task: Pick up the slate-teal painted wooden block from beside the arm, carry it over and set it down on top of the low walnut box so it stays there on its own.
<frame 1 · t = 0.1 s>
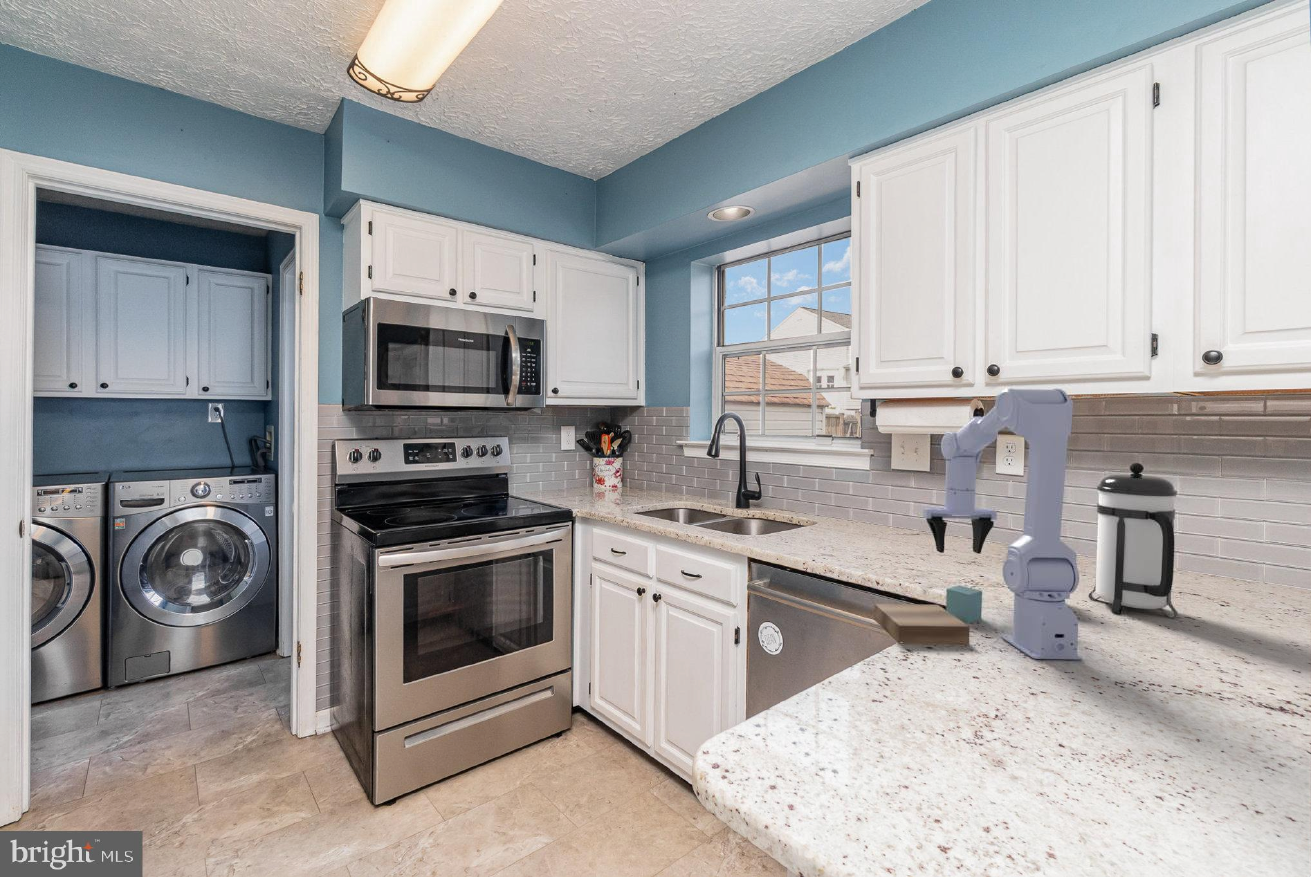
hand: (958, 552, 129), 10 cm above the countertop, fingers open, 7 cm apart
coffee press: (1136, 611, 122), on the countertop
walnut box: (918, 633, 109), on the countertop
medicine bottle: (1037, 602, 127), on the countertop
teal block: (963, 617, 117), on the countertop
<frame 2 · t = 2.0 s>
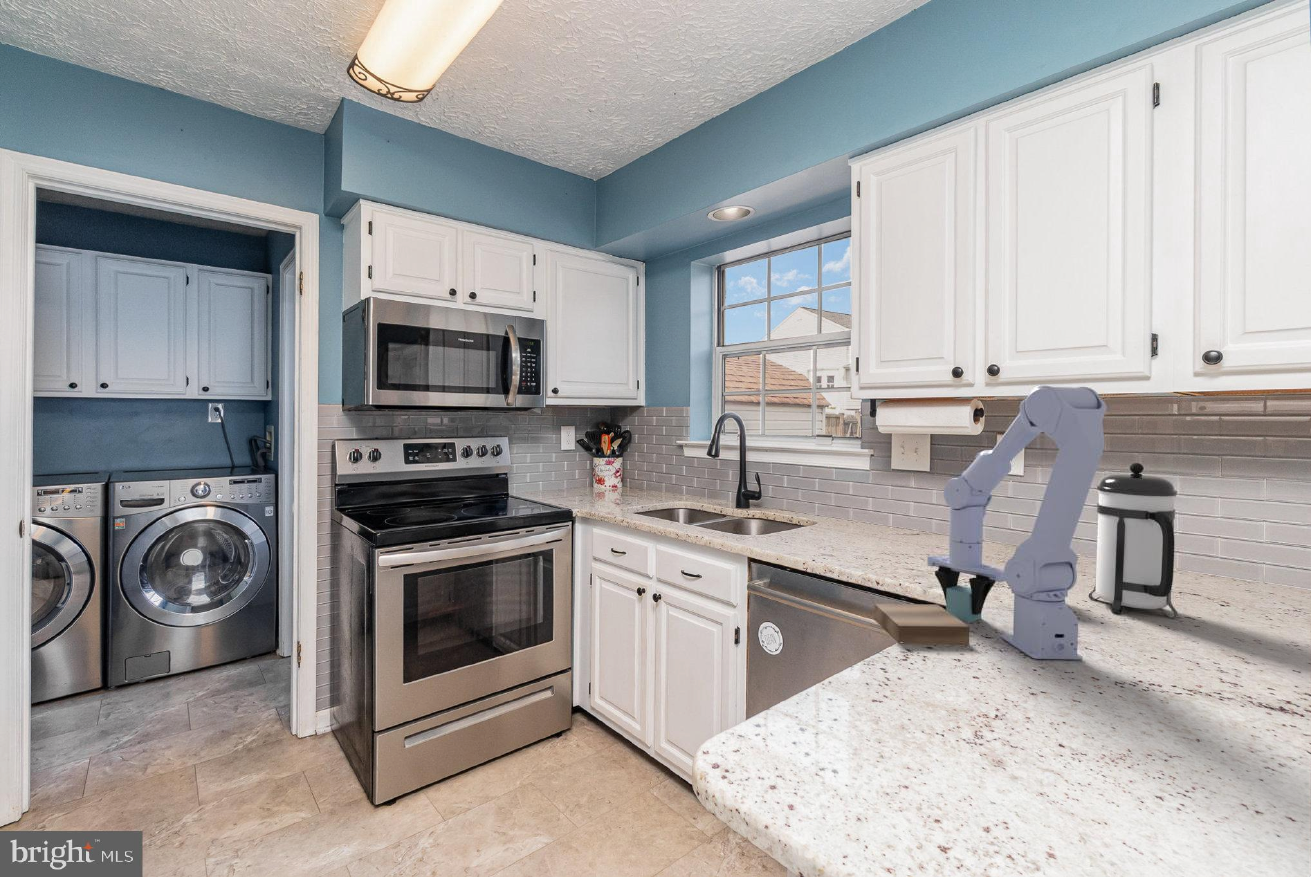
hand: (963, 610, 117), 1 cm above the countertop, fingers closed on teal block, 4 cm apart
teal block: (963, 617, 117), on the countertop, touching gripper
everything else where it was.
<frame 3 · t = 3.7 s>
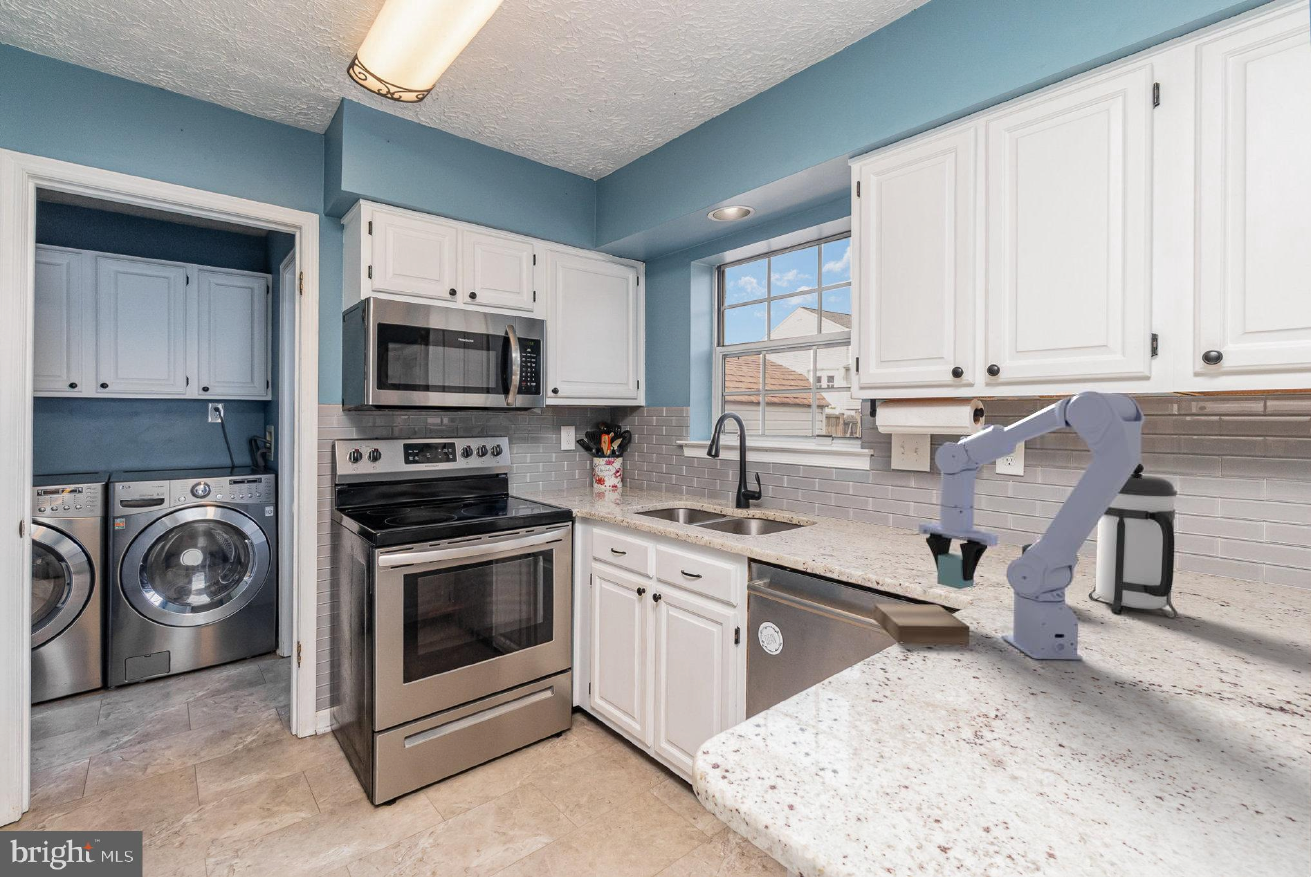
hand: (955, 576, 115), 8 cm above the countertop, fingers closed on teal block, 4 cm apart
teal block: (955, 584, 115), point 7 cm above the countertop, touching gripper
everything else where it was.
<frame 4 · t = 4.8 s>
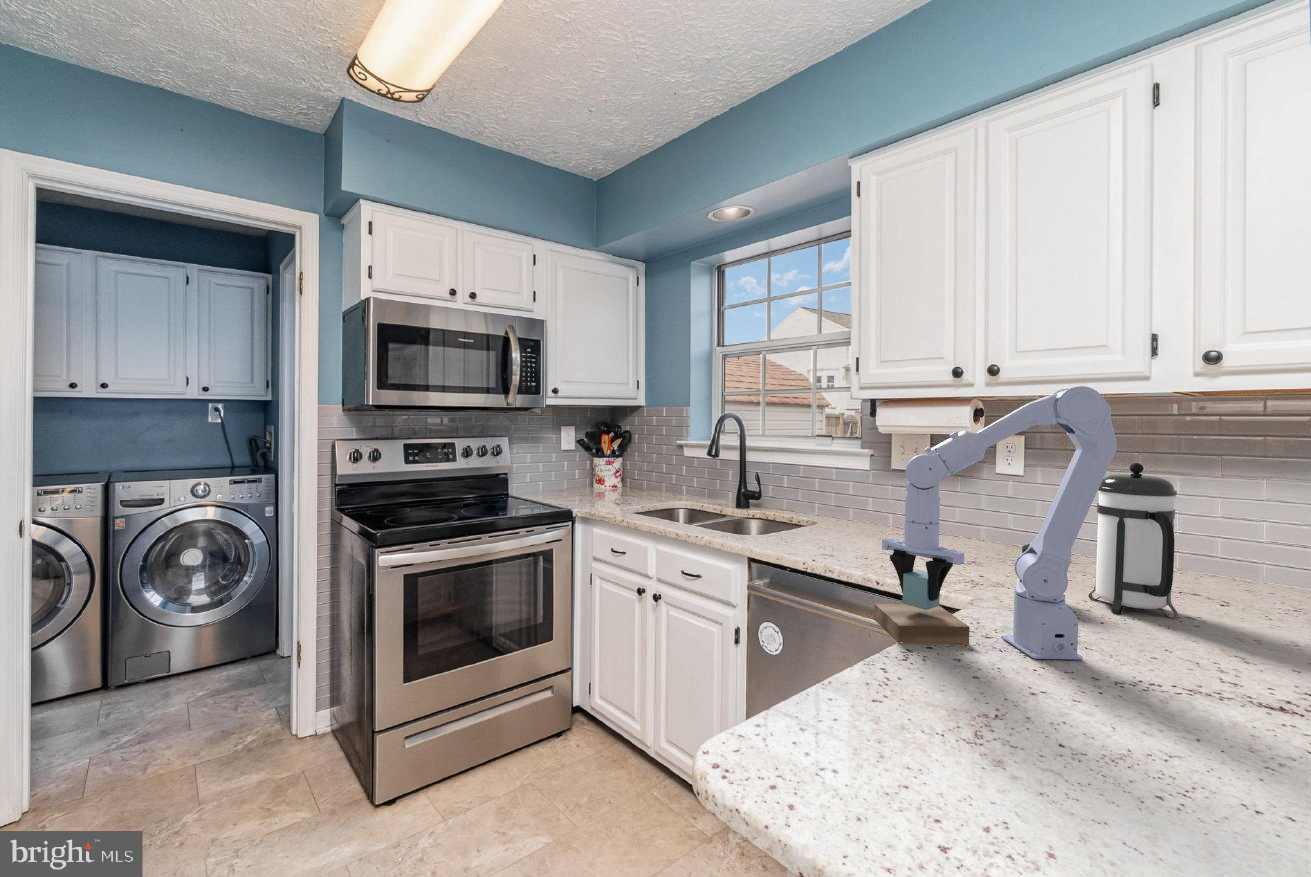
hand: (919, 596, 109), 6 cm above the countertop, fingers closed on teal block, 4 cm apart
teal block: (920, 604, 109), point 5 cm above the countertop, touching gripper
everything else where it was.
when the fingers open (6 cm above the countertop, at t = 5.3 s): teal block drops 1 cm, resting on walnut box.
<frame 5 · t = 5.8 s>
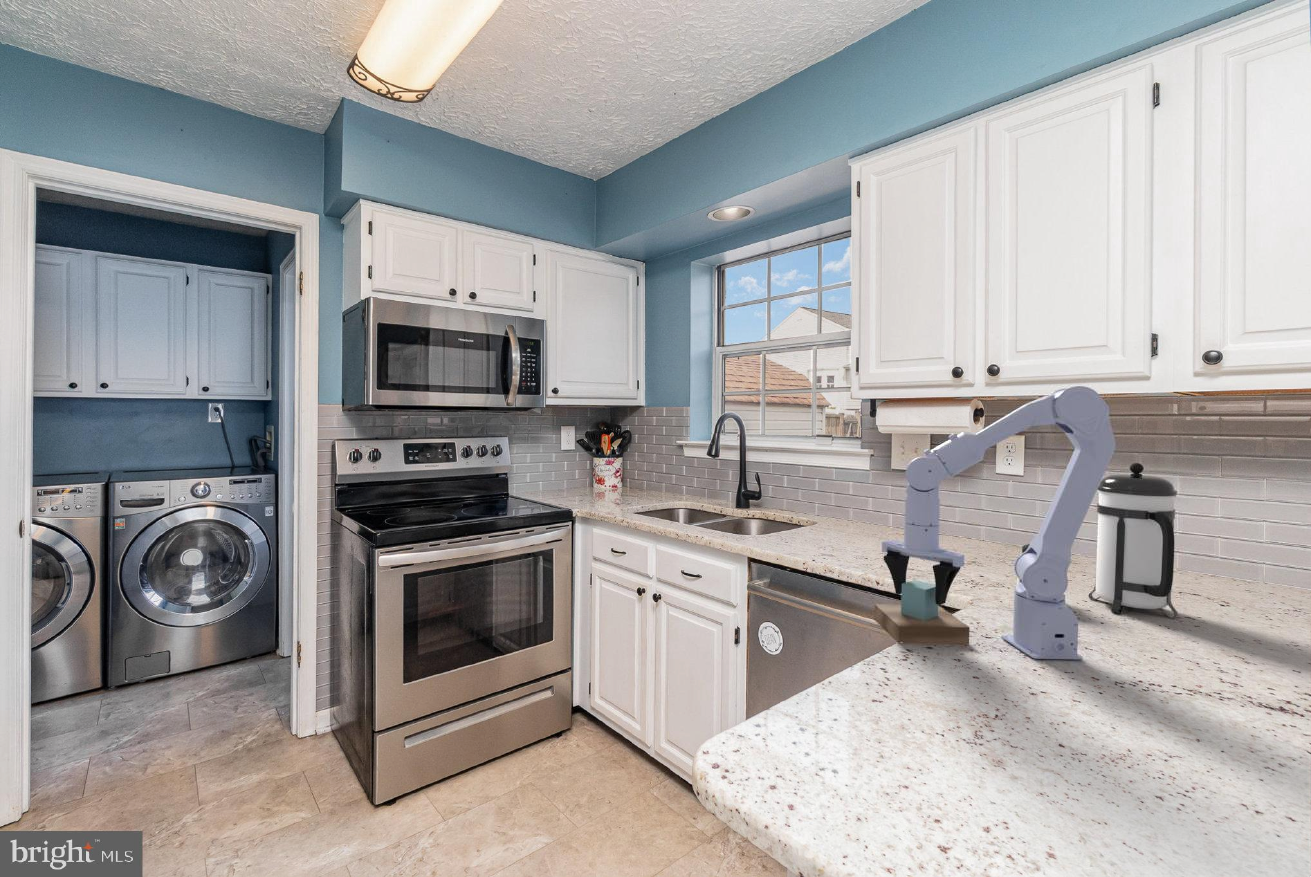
hand: (919, 598, 109), 6 cm above the countertop, fingers open, 7 cm apart
walnut box: (918, 634, 109), on the countertop, touching teal block
teal block: (919, 614, 109), point 3 cm above the countertop, touching walnut box
everything else where it was.
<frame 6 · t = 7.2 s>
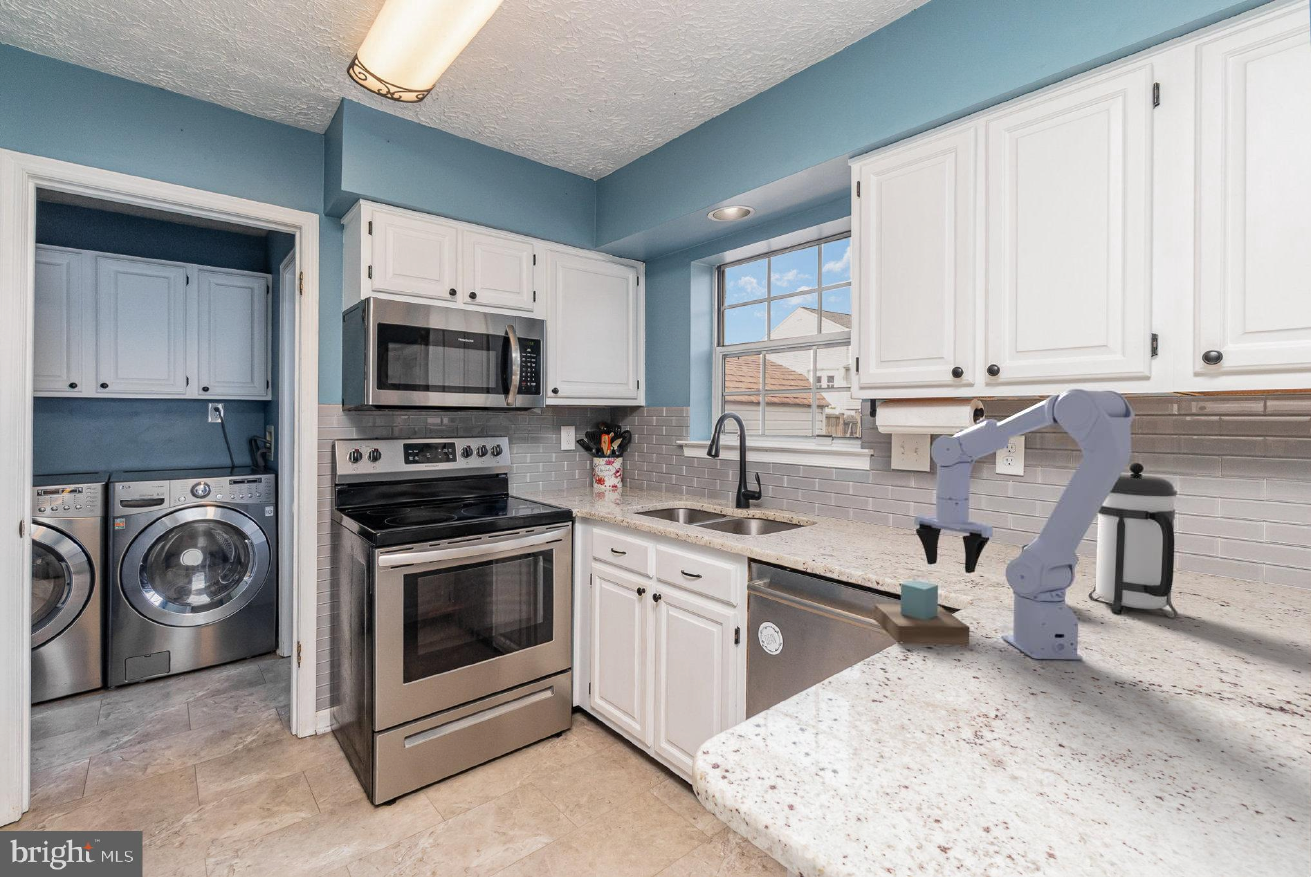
hand: (950, 567, 117), 10 cm above the countertop, fingers open, 7 cm apart
nothing on the countertop moved.
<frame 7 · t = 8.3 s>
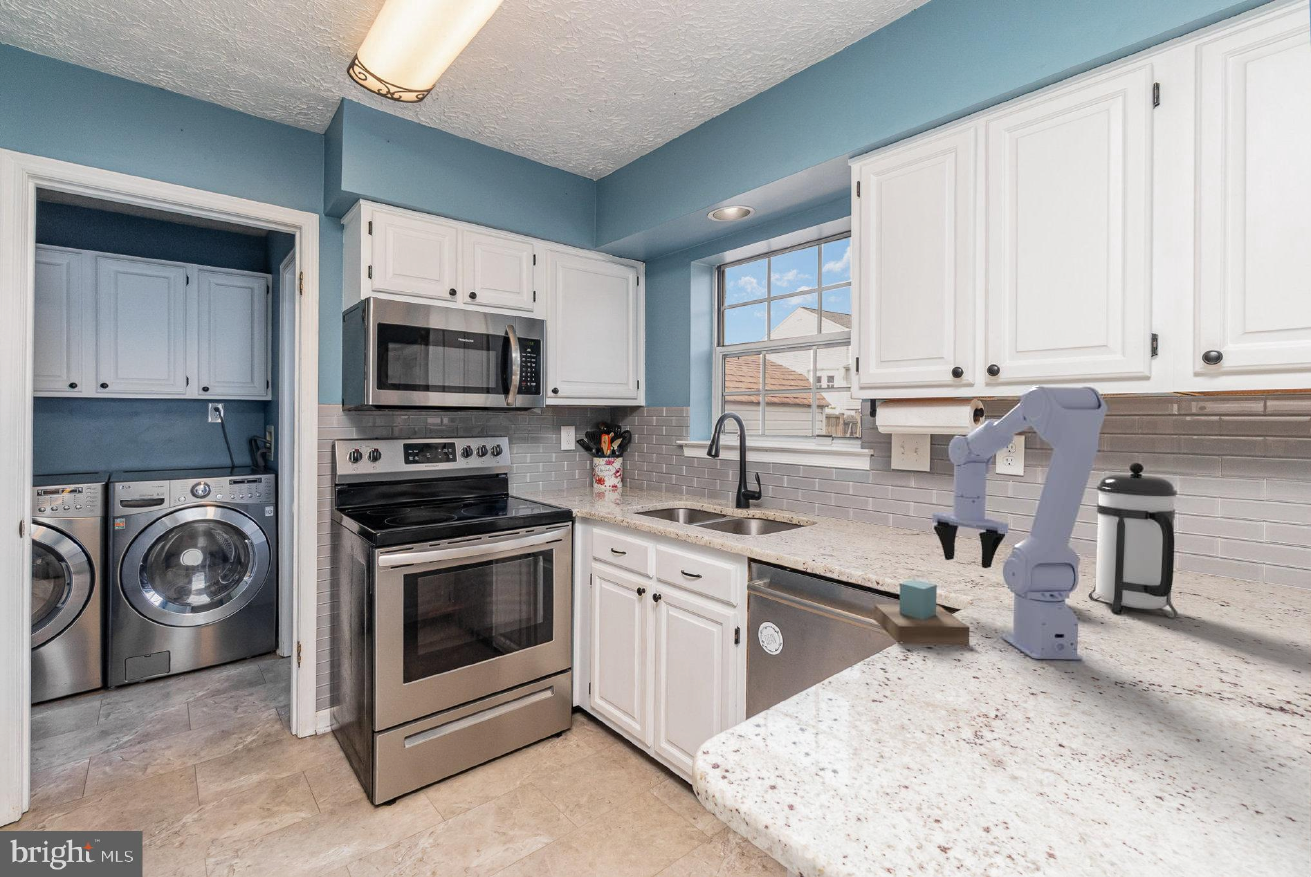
hand: (967, 563, 121), 9 cm above the countertop, fingers open, 7 cm apart
walnut box: (918, 634, 109), on the countertop
teal block: (917, 614, 109), point 3 cm above the countertop
everything else where it was.
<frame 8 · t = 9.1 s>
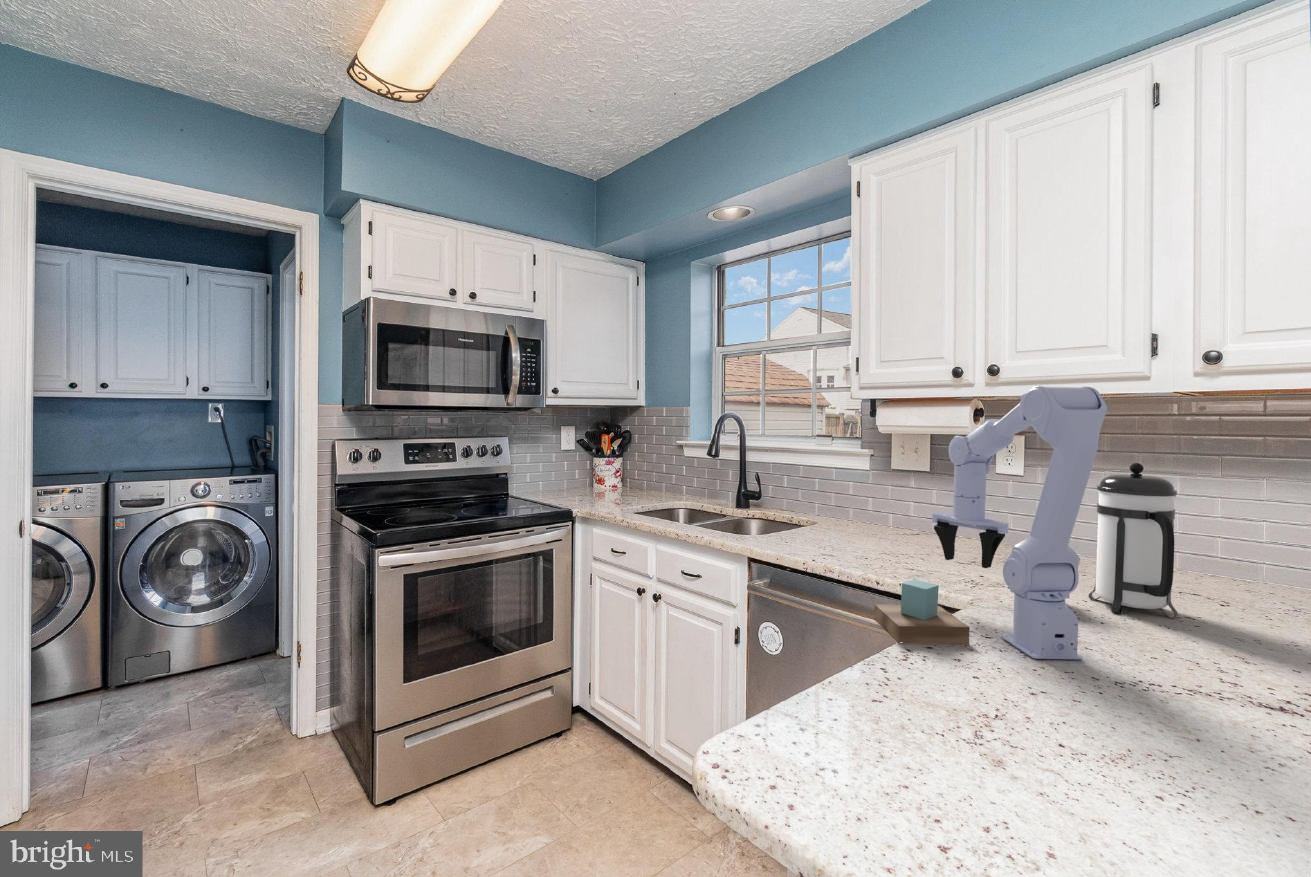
hand: (967, 563, 121), 9 cm above the countertop, fingers open, 7 cm apart
walnut box: (919, 634, 109), on the countertop, touching teal block
teal block: (918, 614, 109), point 3 cm above the countertop, touching walnut box
everything else where it was.
at the end: teal block inside the target area on the walnut box (0.3 cm from its centre), point 3.6 cm above the walnut box's base; teal block tilted 1°; the gripper is holding nothing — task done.
